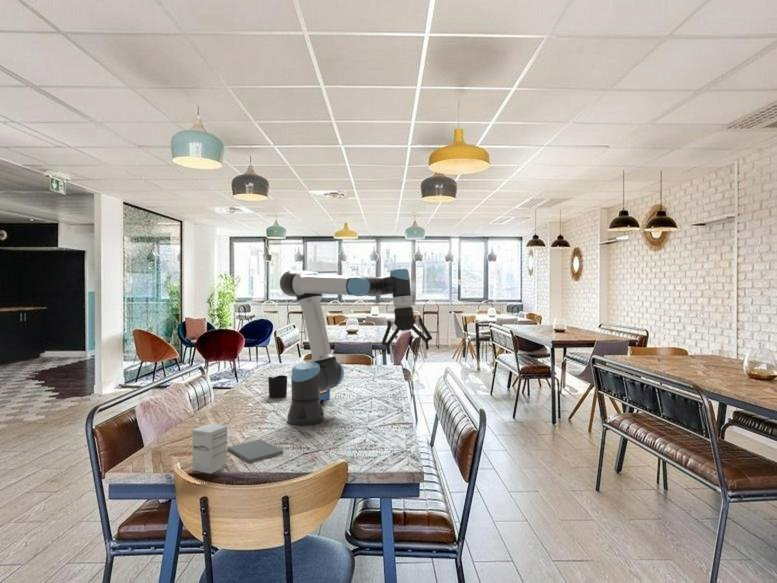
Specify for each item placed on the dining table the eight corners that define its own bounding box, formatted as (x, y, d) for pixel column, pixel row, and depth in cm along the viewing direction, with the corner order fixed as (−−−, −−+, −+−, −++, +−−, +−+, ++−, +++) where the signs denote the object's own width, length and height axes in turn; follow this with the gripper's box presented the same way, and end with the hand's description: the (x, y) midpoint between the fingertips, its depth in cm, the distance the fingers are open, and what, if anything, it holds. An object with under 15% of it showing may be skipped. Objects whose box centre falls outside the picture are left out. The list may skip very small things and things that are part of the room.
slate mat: (227, 449, 159) (227, 446, 159) (260, 441, 167) (260, 439, 167) (249, 462, 147) (249, 459, 147) (283, 453, 156) (283, 450, 156)
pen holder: (284, 398, 232) (284, 378, 232) (266, 398, 232) (266, 378, 232) (289, 394, 242) (289, 375, 242) (271, 394, 242) (271, 375, 242)
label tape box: (324, 397, 235) (324, 373, 234) (330, 399, 232) (330, 374, 232) (311, 401, 228) (311, 376, 228) (317, 402, 225) (317, 377, 225)
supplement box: (191, 471, 141) (191, 429, 141) (209, 462, 148) (209, 422, 148) (210, 474, 138) (210, 432, 138) (228, 465, 145) (227, 425, 145)
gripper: (373, 310, 181) (378, 364, 180) (435, 303, 184) (441, 357, 183) (371, 310, 188) (376, 363, 187) (431, 304, 191) (437, 356, 190)
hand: (408, 360), depth 185 cm, fingers open, 13 cm apart
